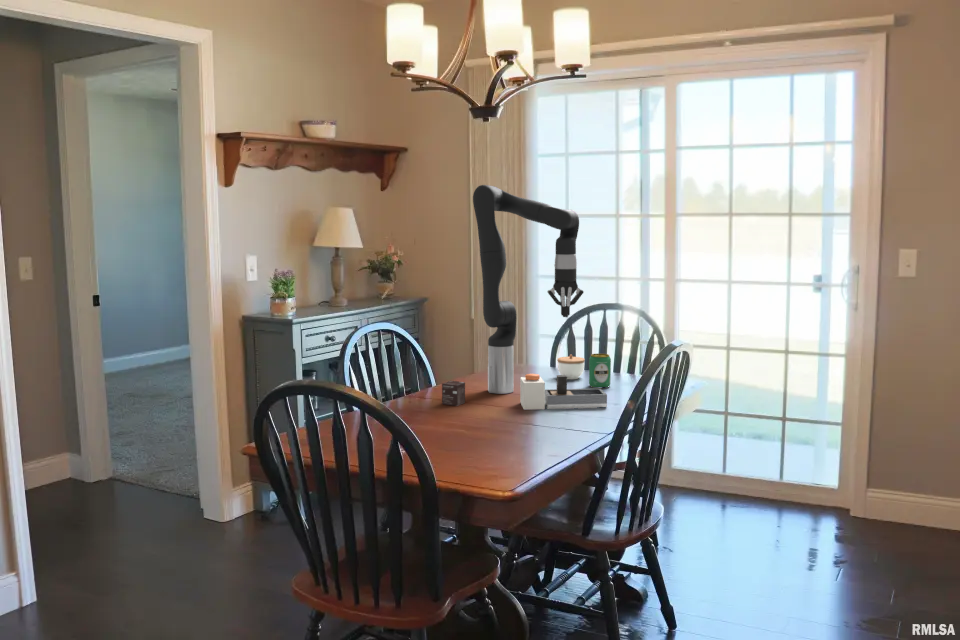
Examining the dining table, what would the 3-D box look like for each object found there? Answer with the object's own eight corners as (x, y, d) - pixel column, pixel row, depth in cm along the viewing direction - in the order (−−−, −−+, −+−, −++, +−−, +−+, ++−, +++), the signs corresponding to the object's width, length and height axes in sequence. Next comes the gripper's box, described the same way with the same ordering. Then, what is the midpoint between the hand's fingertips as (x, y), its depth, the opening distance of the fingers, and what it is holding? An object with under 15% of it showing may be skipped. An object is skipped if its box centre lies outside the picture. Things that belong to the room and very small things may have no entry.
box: (441, 404, 283) (441, 383, 282) (450, 401, 288) (450, 380, 287) (457, 406, 280) (456, 385, 279) (465, 402, 285) (465, 381, 284)
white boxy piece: (523, 409, 274) (523, 383, 273) (520, 402, 284) (520, 377, 283) (544, 409, 275) (544, 382, 274) (540, 402, 285) (540, 376, 284)
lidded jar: (554, 375, 332) (554, 353, 331) (579, 374, 334) (580, 352, 332) (561, 381, 321) (561, 357, 320) (587, 380, 323) (588, 356, 322)
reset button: (526, 390, 276) (526, 376, 276) (524, 387, 281) (524, 373, 280) (540, 390, 277) (540, 376, 276) (538, 387, 281) (538, 373, 281)
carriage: (553, 402, 276) (553, 378, 275) (549, 398, 283) (549, 374, 282) (573, 402, 277) (573, 377, 276) (569, 397, 284) (570, 373, 283)
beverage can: (590, 388, 307) (591, 356, 306) (587, 384, 315) (587, 353, 313) (612, 388, 307) (612, 356, 306) (608, 384, 315) (608, 353, 314)
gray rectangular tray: (547, 409, 275) (547, 395, 274) (543, 402, 285) (543, 389, 284) (606, 407, 276) (607, 394, 276) (600, 401, 286) (600, 388, 286)
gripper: (548, 268, 282) (547, 318, 284) (586, 267, 282) (586, 318, 285) (545, 267, 289) (545, 316, 291) (582, 266, 290) (582, 315, 292)
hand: (565, 316), depth 288 cm, fingers closed
